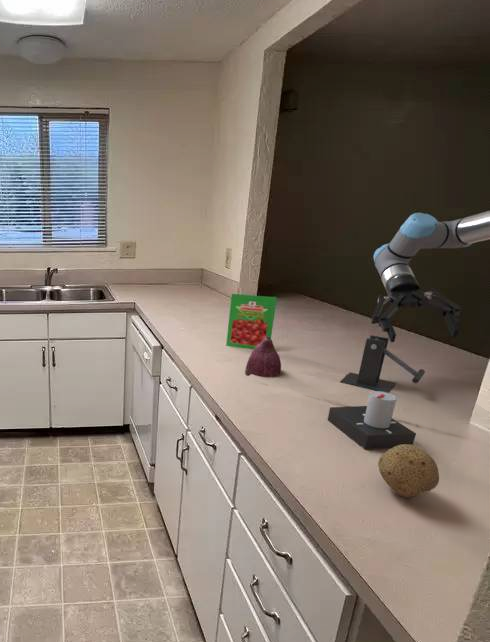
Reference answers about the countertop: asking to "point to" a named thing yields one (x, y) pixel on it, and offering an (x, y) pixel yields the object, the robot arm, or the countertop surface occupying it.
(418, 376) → the switch lever
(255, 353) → the vegetable
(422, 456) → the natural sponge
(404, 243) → the robot arm
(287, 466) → the countertop surface
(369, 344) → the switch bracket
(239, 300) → the tomato puree packet
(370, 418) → the timer knob
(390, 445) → the timer panel
